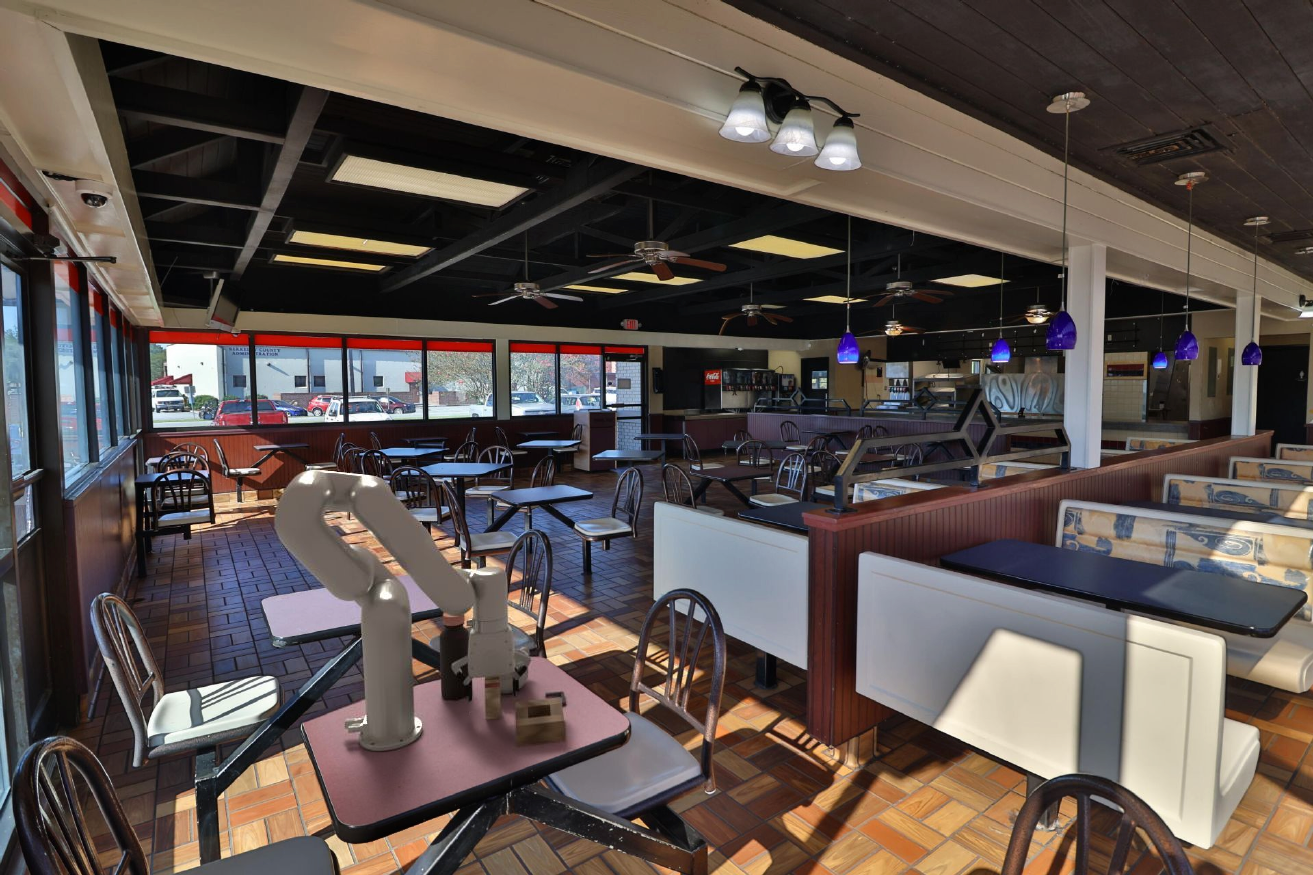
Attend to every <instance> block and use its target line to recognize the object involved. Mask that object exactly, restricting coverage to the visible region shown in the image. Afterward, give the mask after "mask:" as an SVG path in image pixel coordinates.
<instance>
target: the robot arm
mask: <svg viewBox="0 0 1313 875" xmlns="http://www.w3.org/2000/svg"><path fill="white" fill-rule="evenodd" d="M326 511H328V512H329V511H331V512H342V513H351V515H352V516H353V517H354V518H355V519H356V520H357V522H359V524H360V525H362V527H364V529H366V530H367V532H368V533H369V534H371V536H373V538H374V539H376V541H377V542H378V543H379V544H380V545H381V546H382V547H383V548H384V549H385V550H386V551H387V552H388V553H389V554H390V555H391V557H392V558H393V559H394V560H395V561H396V562H397V563H398V565H399V566H400V567H401V569H402V570H403V571H404V572H405V573H406V574H407V575H408V576H409V577H410V578H411V580H412V581H413V582H414V583H415V584H416V586H417V587H419V589H420V590H421V592H423V593H424V594H425V595H426V597H427V598H429V599H430V601H431V602H433V604H434V605H435V606H436V607H437V608H439V610H441V612H443V614H444V613H446V614H448V615H451V616H460V615H463V614H464V615H465V614H467V613H468V612H469V611H471V609H472V618H470V619H467V620H466V627H471V629H470V631H469V643H468V655H466V656H465V657H463V658H461V659H459V660H458V661H456V662H454V663H453V664H452V667H451V668H452V670H453V671H454V673H455V674H456V676H457V678H458V679H460V680H461V681H462V682H463V683H464V685H465V697H468V703H470V702H472V701H473V696H474V692H473V691H474V690H473V679H479V678H481V679H482V678H485V677H492V676H502V675H509V674H510V675H512V676H513V692H512V697H513V698H517V692H520V689H519V679H520V677H521V676H522V675H523V674H524V673H525V672H526V670H527V668H528V669H529V666H530V664H531V662H532V657H531V656H530V655H529V656H528V655H525V654H523V653H520V652H518V651H515V649H516V648H515V642H514V641H515V640H514V634H513V630H512V626H511V625H509V611H508V610H509V606H508V604H509V603H508V601H509V600H508V575H507V574H508V573H507V571H506V570H505V569H504V568H502V567H499V566H484V567H481V568H477V569H476V568H454V566H453V565H452V564H451V563H450V561H448V559H447V558H446V557H445V556H444V554H443V553H442V552H441V550H440V549H439V547H438V545H437V544H436V542H435V540H434V538H433V537H432V535H431V534H430V532H429V531H428V530H427V528H426V527H425V526H424V525H423V523H421V521H419V519H417V518H416V516H414V514H413V513H412V512H411V511H410V510H408V508H407V507H406V506H405V505H404V504H403V502H401V501H400V499H399V498H398V497H397V496H396V495H395V494H394V493H393V492H392V488H391V486H390V484H389V483H388V482H387V481H386V480H384V479H383V478H382V477H378V476H374V475H369V474H358V473H349V472H348V473H347V472H337V471H330V470H329V471H328V470H322V469H321V470H320V469H313V470H311V469H310V470H306V471H303V472H301V473H299V474H297V475H295V477H293V478H292V479H291V481H290V482H289V483H288V485H287V486H286V487H285V488H284V491H283V492H282V494H281V496H280V499H279V500H278V503H277V506H276V509H275V511H274V517H273V518H274V521H273V522H274V528H275V529H274V530H275V532H276V535H277V537H278V539H279V541H280V542H281V544H282V545H283V546H284V547H285V549H286V550H287V551H288V552H289V553H290V554H291V555H292V556H293V557H294V558H296V560H297V561H298V562H299V563H300V564H302V565H303V567H304V568H305V569H306V570H307V571H308V572H309V573H310V574H311V575H313V577H314V578H315V579H316V580H318V582H320V583H321V585H322V586H324V588H325V589H326V590H327V591H328V593H330V594H331V595H332V596H334V597H335V598H337V599H338V600H340V601H345V602H353V601H354V602H355V603H356V604H357V605H358V606H359V607H360V608H361V611H360V612H361V613H360V630H361V632H360V633H361V644H362V661H363V678H364V696H365V697H364V698H365V700H364V701H365V715H361V717H359V718H346V719H345V720H344V729H345V730H346V729H347V731H348V734H355V733H359V734H358V743H359V744H360V746H361V747H362V748H364V749H365V750H369V751H374V752H383V751H384V752H385V751H392V750H396V749H400V748H402V747H405V746H407V745H409V744H411V743H412V742H414V741H416V740H417V739H418V738H419V737H420V735H421V734H422V733H423V728H424V727H423V726H424V724H423V722H422V720H421V719H420V718H418V717H417V716H415V698H414V697H415V696H414V694H415V693H414V673H413V672H414V671H413V670H414V667H413V666H414V665H413V645H412V644H413V643H412V642H413V641H412V638H413V637H412V630H413V629H412V625H413V624H412V623H413V622H412V621H413V620H412V608H411V604H410V602H411V601H410V600H409V599H410V597H409V594H408V590H407V588H406V587H405V585H404V584H403V583H402V582H401V580H400V579H399V578H398V577H397V576H396V575H394V573H393V572H392V571H391V570H390V569H389V568H388V567H387V566H386V565H385V564H384V563H383V562H381V560H380V559H379V558H378V557H377V556H376V555H375V554H374V553H373V552H372V551H370V549H367V548H366V547H365V546H362V545H360V544H353V543H352V544H349V543H348V542H347V541H346V540H344V539H343V537H342V536H341V535H340V534H339V532H337V531H336V530H335V529H333V527H332V526H330V525H329V524H328V523H327V522H326V520H325V514H326ZM515 658H516V659H518V660H521V661H523V664H522V665H521V666H520V667H519V668H517V667H516V666H515ZM466 663H468V672H467V673H464V672H463V671H462V670H461V669H460V667H461V666H463V665H465V664H466ZM465 697H464V698H465Z"/></svg>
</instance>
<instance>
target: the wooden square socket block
mask: <svg viewBox="0 0 1313 875" xmlns="http://www.w3.org/2000/svg"><path fill="white" fill-rule="evenodd" d="M514 705H515V747H523V746H524V747H525V746H531V745H532V746H533V745H542V744H550V743H560V742H565V740H566V738H565V736H566V735H565V727H566V726H565V716H564V715H565V714H564V710H563V706H562V698H561V697H552V698H545V699H543V698H541V699H533V700H525V701H515V704H514Z"/></svg>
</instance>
